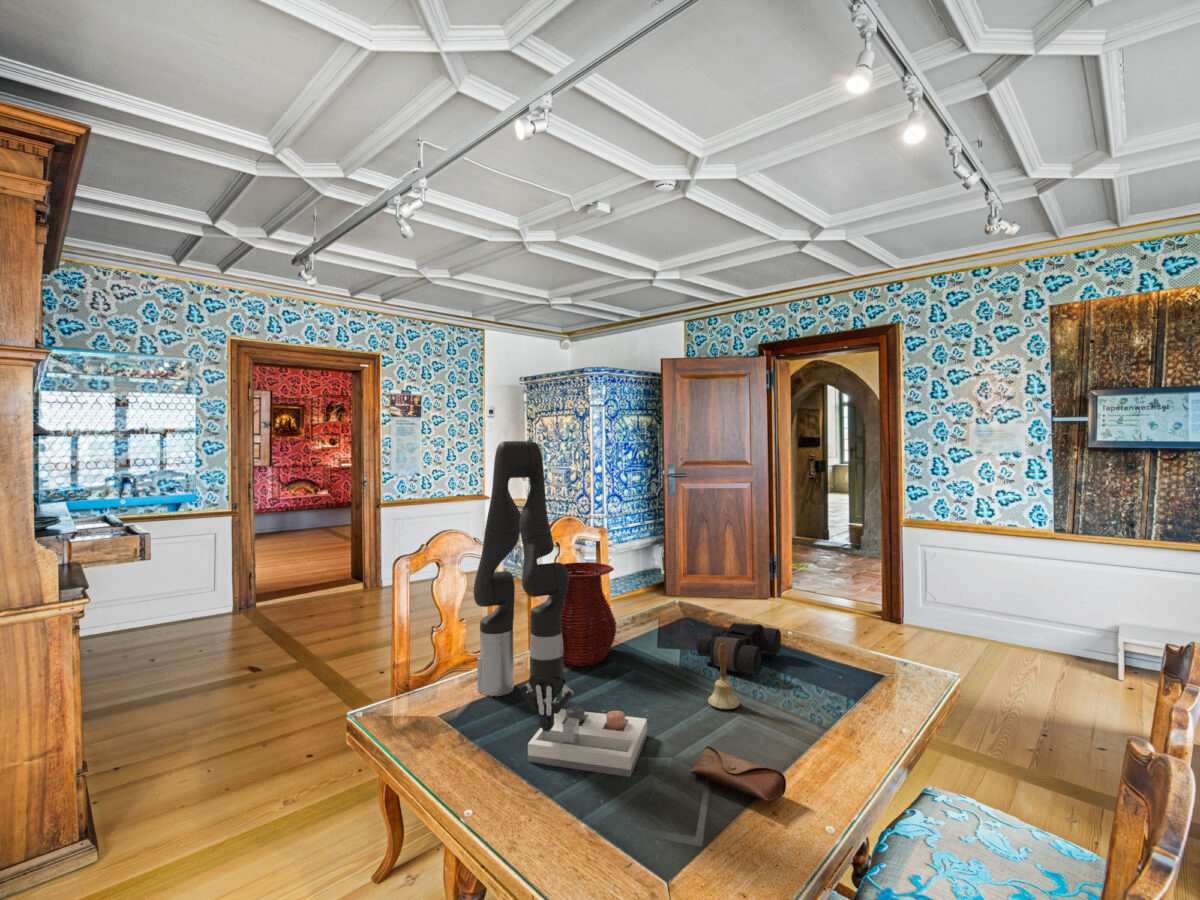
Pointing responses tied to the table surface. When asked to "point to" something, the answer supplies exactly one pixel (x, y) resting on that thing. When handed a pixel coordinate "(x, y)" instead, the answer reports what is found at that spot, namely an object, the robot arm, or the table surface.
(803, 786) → the table surface
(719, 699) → the hand bell
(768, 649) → the binoculars
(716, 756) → the sunglasses case
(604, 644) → the vase
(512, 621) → the robot arm
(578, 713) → the black button
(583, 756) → the console
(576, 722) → the steel slider
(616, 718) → the terracotta button
